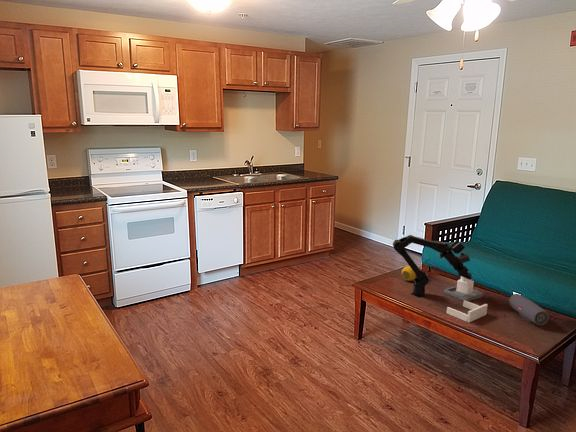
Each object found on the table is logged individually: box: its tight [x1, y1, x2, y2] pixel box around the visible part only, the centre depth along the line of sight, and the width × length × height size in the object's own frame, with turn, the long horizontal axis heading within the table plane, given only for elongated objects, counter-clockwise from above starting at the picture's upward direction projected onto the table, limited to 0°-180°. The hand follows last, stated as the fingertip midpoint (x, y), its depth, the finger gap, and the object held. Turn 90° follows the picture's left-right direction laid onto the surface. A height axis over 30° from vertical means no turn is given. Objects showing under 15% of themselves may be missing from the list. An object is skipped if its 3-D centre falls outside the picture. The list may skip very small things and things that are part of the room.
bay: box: [446, 300, 489, 323], centre depth 241 cm, size 14×17×6 cm
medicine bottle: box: [456, 271, 475, 294], centre depth 261 cm, size 7×7×12 cm
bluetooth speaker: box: [508, 293, 550, 326], centre depth 236 cm, size 23×9×10 cm, turn 5°
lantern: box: [398, 265, 425, 282], centre depth 291 cm, size 10×10×30 cm
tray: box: [443, 285, 484, 302], centre depth 267 cm, size 16×16×2 cm
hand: (468, 276), depth 261 cm, fingers closed on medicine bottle, 6 cm apart
